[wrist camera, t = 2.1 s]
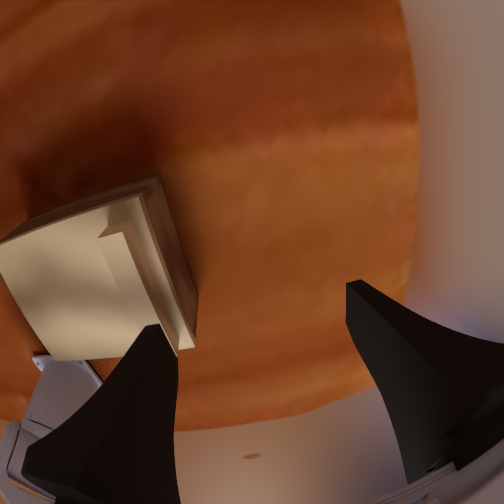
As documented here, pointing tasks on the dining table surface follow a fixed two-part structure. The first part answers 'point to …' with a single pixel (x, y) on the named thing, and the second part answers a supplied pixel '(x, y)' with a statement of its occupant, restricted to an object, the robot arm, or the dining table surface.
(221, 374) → the dining table surface
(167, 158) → the dining table surface
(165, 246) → the walnut box
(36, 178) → the dining table surface
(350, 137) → the dining table surface
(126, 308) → the box lid
